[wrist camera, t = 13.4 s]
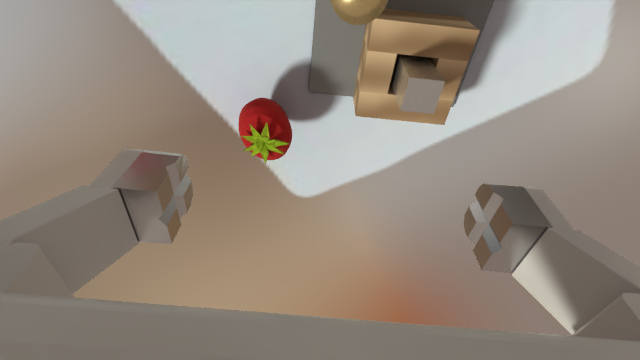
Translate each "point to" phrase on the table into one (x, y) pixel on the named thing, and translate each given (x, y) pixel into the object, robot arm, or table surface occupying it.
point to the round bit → (358, 10)
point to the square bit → (416, 84)
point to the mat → (346, 39)
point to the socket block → (417, 40)
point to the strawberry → (265, 129)
